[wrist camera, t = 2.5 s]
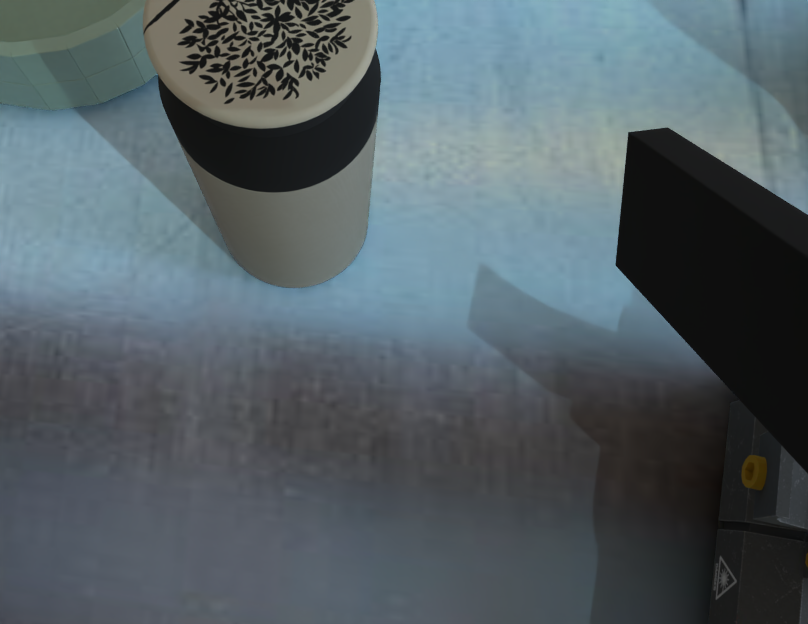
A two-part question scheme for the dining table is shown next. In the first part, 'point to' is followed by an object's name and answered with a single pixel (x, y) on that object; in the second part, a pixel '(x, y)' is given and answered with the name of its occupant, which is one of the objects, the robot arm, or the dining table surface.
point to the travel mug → (275, 124)
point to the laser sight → (760, 530)
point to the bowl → (71, 52)
